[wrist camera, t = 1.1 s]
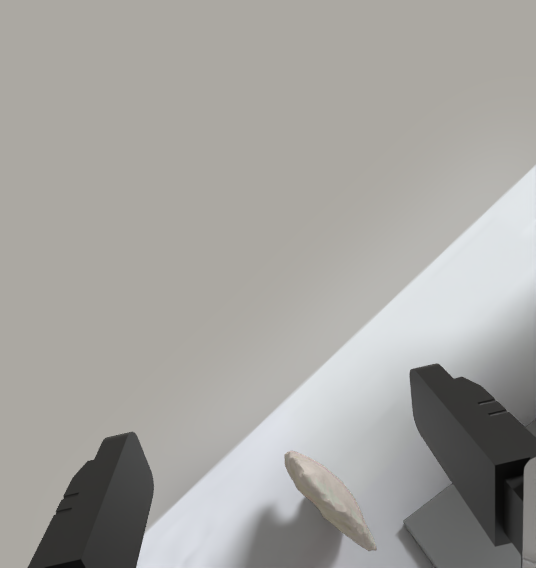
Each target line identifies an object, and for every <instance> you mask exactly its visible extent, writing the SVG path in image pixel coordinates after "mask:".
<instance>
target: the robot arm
mask: <svg viewBox="0 0 536 568" xmlns="http://www.w3.org/2000/svg"><path fill="white" fill-rule="evenodd" d="M410 386H411V397H412V408H413V416H414V420H415V423H416V426H417V428H418V431H419V433H420V435H421V436H422V438H423V439H424V441H425V442H426V444H427V445H428V447H429V448H430V450H431V451H432V453H433V454H434V456H435V457H436V459H437V460H438V462H439V463H440V465H441V466H442V468H443V469H444V471H445V472H446V474H447V475H448V477H449V478H450V480H451V481H452V483H453V484H454V486H455V487H456V489H457V490H458V492H459V493H460V495H461V496H462V498H463V499H464V501H465V502H466V504H467V505H468V507H469V508H470V510H471V511H472V513H473V514H474V516H475V517H476V519H477V520H478V522H479V523H480V525H481V526H482V528H483V529H484V531H485V532H486V534H487V536H488V537H489V539H490V540H491V542H492V543H493V545H494V546H495V547H496V546H500V545H505V544H509V543H513V545H514V546H515V548H516V549H517V550H518V552H519V553H520V555H521V568H536V437H535V436H534V435H533V434H532V433H531V432H530V431H528V430H527V429H526V428H525V427H524V426H523V425H522V424H521V423H520V422H519V421H518V420H517V419H516V418H515V417H514V416H512V415H511V414H510V413H509V412H508V413H507V411H506V409H505V408H504V407H503V406H502V405H501V404H500V403H499V402H497V401H495V399H494V398H493V397H492V396H491V395H490V394H489V393H488V392H487V391H486V390H485V389H484V388H483V387H481V386H480V385H478V384H476V383H474V382H472V381H470V380H468V379H466V378H463V377H459V378H455V379H453V378H452V377H451V376H450V375H449V374H448V373H447V372H446V371H445V369H444V368H443V367H442V366H440V365H439V364H432V365H428V366H423V367H419V368H415V369H411V370H410ZM153 490H154V484H153V476H152V472H151V470H150V467H149V465H148V462H147V460H146V457H145V455H144V452H143V450H142V447H141V445H140V442H139V440H138V437H137V435H136V434H135V433H134V432H129V433H124V434H120V435H116V436H111V437H107V438H105V439H104V440H103V442H102V444H101V446H100V448H99V451H98V452H97V455H96V457H95V459H94V460H91V461H87V463H86V464H85V465H84V466H83V467H82V468H81V469H80V470H79V471H78V472H77V474H76V475H75V476H74V477H73V478H72V480H71V482H70V484H69V486H68V488H67V490H66V492H65V494H64V499H63V500H61V502H60V504H59V506H58V508H57V510H56V515H54V516H53V518H52V520H51V522H50V524H49V526H48V528H47V530H46V532H45V534H44V536H43V538H42V540H41V542H40V544H39V546H38V548H37V551H36V552H35V554H34V556H33V558H32V560H31V562H30V564H29V566H28V568H136V565H137V561H138V557H139V553H140V548H141V544H142V540H143V536H144V532H145V527H146V523H147V519H148V515H149V511H150V506H151V502H152V498H153Z"/></svg>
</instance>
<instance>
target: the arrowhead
mask: <svg viewBox="0 0 536 568" xmlns="http://www.w3.org/2000/svg"><path fill="white" fill-rule="evenodd" d="M285 467H286V469H287V471H288V473H289V475H290V477H291V478H292V480H293V482H294V483H295V486H296V487H297V489H298V490H299V491H300V492H301V493H302V494H303V495H304V496H305V497H306V498H308V499H309V500H310V501H312V502H313V503H314V504H315V505H316V507H317V508H318V509H319V510H320V512H321V514H322V516H323V517H324V518H325V519H326V520H328V521H329V522H330V523H332V524H333V525H334V526H335V527H336V528H337V529H338V530H339V531H341V532H342V533H344V534H345V535H346V536H348V537H349V538H351V539H352V540H353V541H354V542H356V543H357V544H358V545H360V546H361V547H363V548H364V549H366V550H368V551H371V550H376V545H375V542H374V539H373V537H372V535H371V533H370V531H369V529H368V527H367V525H366V523H365V521H364V518H363V516H362V513H361V511H360V509H359V507H358V504H357V502H356V501H355V499H354V497H353V496H352V494H351V493H350V491H349V490H348V489H347V488H346V486H345V485H344V484H343V483H342V482H341V481H340V480H339V479H338V478H337V477H336V476H335V475H334V474H333V473H332V472H330V471H329V470H328V469H327V468H326V467H324V466H323V465H321V464H320V463H318V462H316V461H314V460H312V459H311V458H309V457H306V456H304V455H302V454H300V453H297V452H294V451H290V452H287V453H286V454H285Z"/></svg>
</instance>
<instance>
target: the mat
mask: <svg viewBox="0 0 536 568" xmlns="http://www.w3.org/2000/svg"><path fill="white" fill-rule="evenodd" d="M525 428H526V429H527V430H528V431H530V432H531V433H532V434H533V435H534V436H535V437H536V420H534V421H533V422H532V423H530V424H529V425H528V426H527V427H525ZM403 522H404V525H405V527H406V528H407V529H408V531H409V532H410V533H411V535H412V536H413V538H414V539H415V540H416V542H417V543H418V544H419V546H420V547H421V549H422V550H423V551H424V553H425V554H426V555H427V557H428V558H429V560H430V561H431V562H432V564H433V565H434V566H435V568H521V555H520V553H519V552H518V550H517V549H516V548H515V546H514V545H513V543H509V544H505V545H500V546H496V547H495V546H494V545H493V543H492V542H491V540H490V539H489V537H488V536H487V534H486V532H485V531H484V529H483V528H482V526H481V525H480V523H479V522H478V520H477V519H476V517H475V516H474V514H473V513H472V511H471V510H470V508H469V507H468V505H467V504H466V502H465V501H464V499H463V498H462V496H461V495H460V493H459V492H458V490H457V489H456V487H455V486H454V484H453V483H452V484H451V485H450V486H448V487H447V488H446V489H444V490H443V491H442V492H440V493H439V494H438V495H437V496H435V497H434V498H433V499H431V500H430V501H429V502H427V503H426V504H425V505H423V506H422V507H421V508H420V509H418V510H417V511H416V512H414V513H413V514H412V515H410V516H409V517H408V518H407V519H405V520H404V521H403Z"/></svg>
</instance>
